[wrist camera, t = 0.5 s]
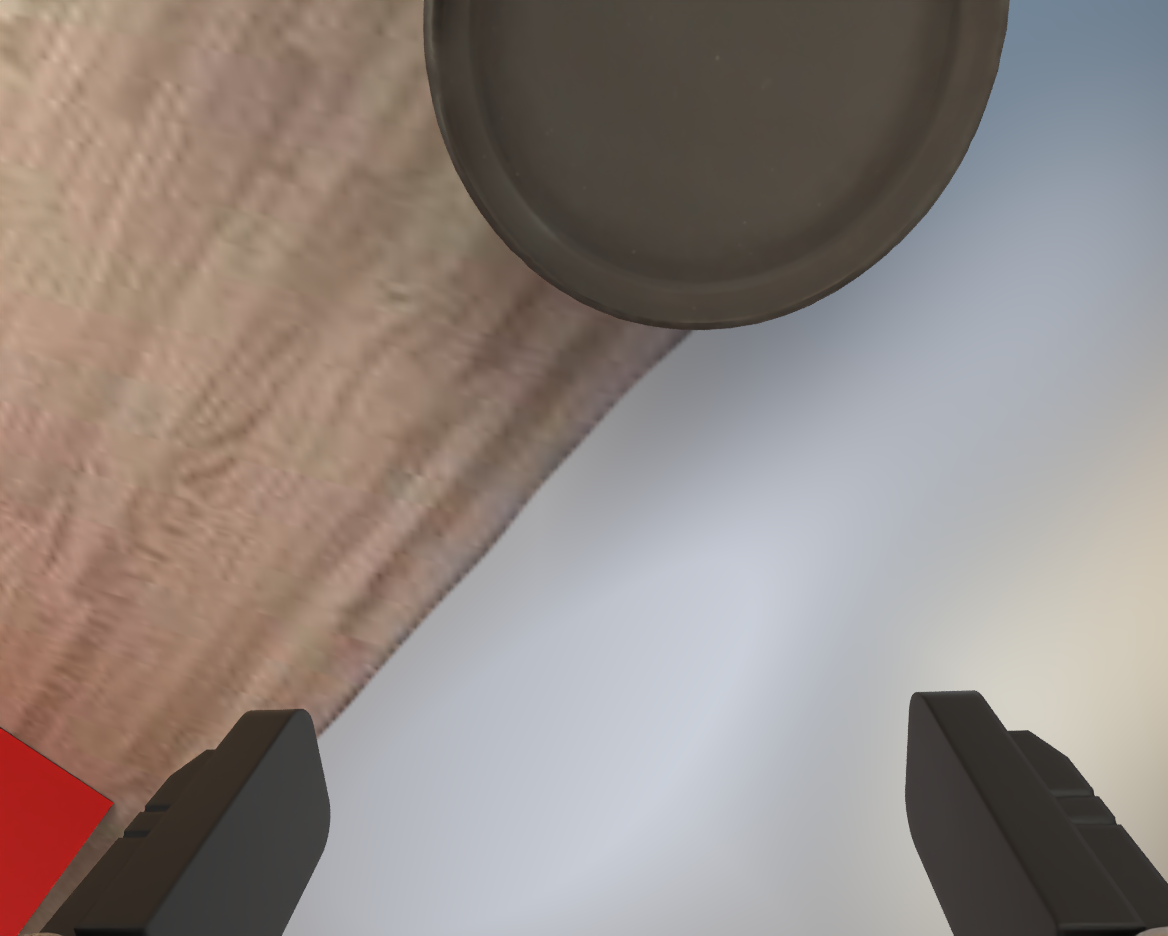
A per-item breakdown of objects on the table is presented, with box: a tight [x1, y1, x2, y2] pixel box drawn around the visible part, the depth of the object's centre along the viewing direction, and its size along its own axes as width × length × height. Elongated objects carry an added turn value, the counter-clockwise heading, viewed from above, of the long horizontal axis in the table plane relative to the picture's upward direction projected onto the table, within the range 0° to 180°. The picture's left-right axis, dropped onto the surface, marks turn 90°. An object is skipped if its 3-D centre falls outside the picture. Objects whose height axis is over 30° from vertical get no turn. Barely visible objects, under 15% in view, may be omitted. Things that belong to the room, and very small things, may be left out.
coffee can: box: [423, 0, 1010, 330], centre depth 21 cm, size 10×10×14 cm
